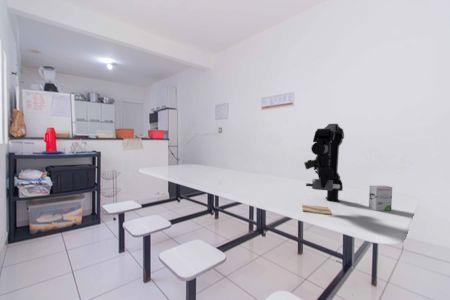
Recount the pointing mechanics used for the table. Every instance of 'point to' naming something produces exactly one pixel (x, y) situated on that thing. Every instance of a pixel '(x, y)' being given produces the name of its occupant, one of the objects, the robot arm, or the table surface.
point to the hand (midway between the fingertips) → (322, 187)
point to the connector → (329, 186)
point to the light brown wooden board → (316, 209)
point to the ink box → (380, 198)
